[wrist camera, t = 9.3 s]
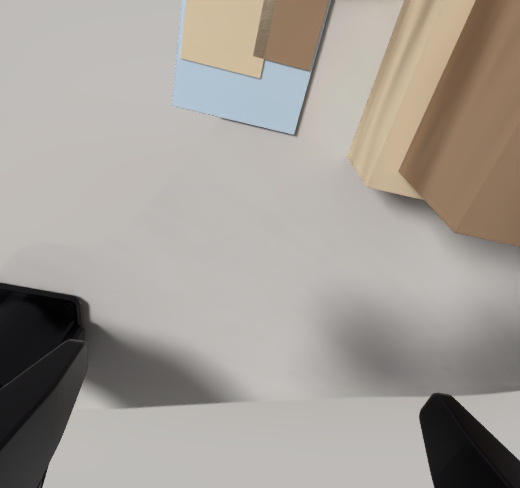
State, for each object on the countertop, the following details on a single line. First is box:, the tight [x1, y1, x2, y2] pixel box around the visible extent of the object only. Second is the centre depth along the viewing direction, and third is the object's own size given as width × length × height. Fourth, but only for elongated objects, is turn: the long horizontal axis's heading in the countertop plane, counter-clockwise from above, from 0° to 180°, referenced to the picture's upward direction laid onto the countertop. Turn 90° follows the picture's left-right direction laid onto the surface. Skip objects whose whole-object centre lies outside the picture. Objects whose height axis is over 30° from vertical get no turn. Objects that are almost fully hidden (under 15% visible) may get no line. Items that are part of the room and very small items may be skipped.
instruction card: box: [172, 0, 331, 135], centre depth 15 cm, size 6×9×1 cm, turn 167°
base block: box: [347, 0, 475, 200], centre depth 15 cm, size 8×8×4 cm
